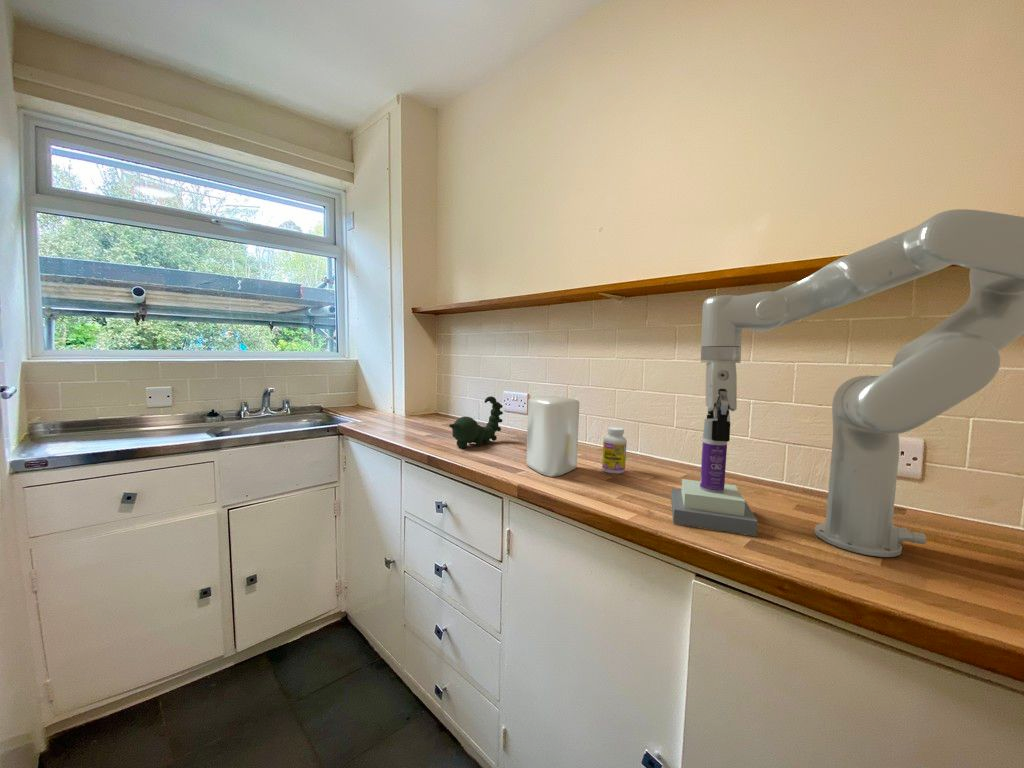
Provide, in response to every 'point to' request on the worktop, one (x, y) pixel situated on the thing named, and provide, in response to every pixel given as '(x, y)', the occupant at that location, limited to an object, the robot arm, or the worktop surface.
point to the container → (712, 461)
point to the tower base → (712, 518)
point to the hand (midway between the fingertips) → (717, 436)
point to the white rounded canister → (552, 435)
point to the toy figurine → (477, 427)
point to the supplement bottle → (614, 451)
